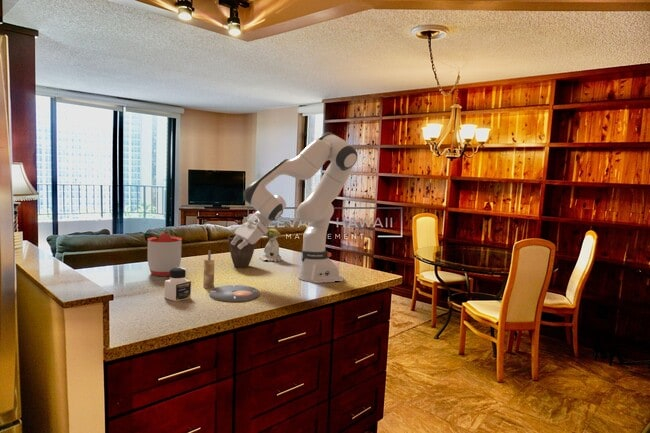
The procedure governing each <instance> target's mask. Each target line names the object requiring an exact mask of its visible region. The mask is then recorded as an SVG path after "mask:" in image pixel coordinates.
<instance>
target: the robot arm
mask: <svg viewBox="0 0 650 433" xmlns="http://www.w3.org/2000/svg"><path fill="white" fill-rule="evenodd" d="M327 161H329V162H330V163H329V164H328V165H327V168H325V169H326V170H325V171H324V173H323V174H322V176H321V178H320V179H319V182H318V183H317V185H316V186H315V187H314V189H312V191H311V192H310V194H309V195H308V196H307V198H305V200H303V202H301V203H300V204H299V205H298V206H297V209H296V214H297V217H298V219H299V220H300V221H301V222H303V223H307V226H306V229H305V230H304V232H303V235H302V236H303V239H302V249H301V257H300V258H301V259H300V260H301V265H300V269H299V273H298V276H297V278H298V279H299V280H302V281H305V282H310V283H315V284H320V283H321V284H322V283H323V282H324V283H336V282H335V281H340V282H343V281H344V276H343V275H342V274H340V269H339V266H338V265H337V264H336V263H335V262H333V260H332V259H330V257H332V253H331V252H329V251H328V250H326V244H327V243H326V242H327V233H328V232H327V231H328V229H329V225H330V220H331V218H332V217H333V215H334V212H335V208H334V205H333V204H332V202H333V201H334V200H335V199H337V198H338V196H339V195H340V193H341V191H342V189H343V188H344V186H345V185H346V182H348V179H349V178H350V177H349V176H350V174H351V171H352V170H353V166H355V165H356V163H357V161H358V151H357V150H356V149H355V147H353V146H352V145H351V144H349V143H348V142H347V141H346V140H344V139H343V138H341V137H339V136H338V135H336V134H335V133H333V132H329V131H326V132H324V133H322V134H321V135H319V136H318V138H317V139H315V140H313V141H311V142H310V143H309V144H307V146H306V147H305V148H303V150H301V151H300V153H299V154H298V155H296V156H295V157H293V158H290V159H287V158H285V159H283V160H281V161H279V162H278V163H277V164H276V165H274V166H273V167H272V168H270V170H268V171H267V172H266V173H265V174H263V175H262V176H260V178H258V179H256V180H255V181H254V182H252V183H251V184H249V185H248V186H247V187H246V188H245V189H244V190H243V199H244V201H245V202H246V203H247V204H248V205H250V206H251V207H253V208H254V209H255V210H256V211H255V212H254V213H253V214H252V215H251V216H250V217H249V218H248V219H247V222H243V223H242V224H241V225H240V226H239V227H238V228H237V229H235V231H234V235H236V236H235V237H234V239H233V241H232V242H231V244H232V245H235V244H236V242H237V241H238V240H240V239H242V240H244V241H243V242H242V243H241V244H239V245H238V246H237V247H238V248H239V249H242V248H243V247H244V246H246V245H247V244H248V243H250V244H254V243H257V242H258V241H259V240H260V239H261V238H263V236H265V235H264V234H266V233H267V232H268V229H269V227H270V225H271V224H272V223H273V221H277V220H278V219H279V218H280V217H281V216H282V215H283V214H284V210H285V208H286V207H287V203H286V200H285V199H284V198H283V197H282V196H280V195H279V194H273V193H271V192H270V191H269V190H268V189H267V188H266V187H267V186H268V185H269V184H271V182H273V181H274V180H276V179H277V178H278V177H280V176H281V175H286V176H288V177H292V178H295V179H297V180H301V181H307V180H310V179H311V178H313V177H314V176H315V175H316V174H317V173H318V172H319V171H320V170H321V169H322V167H323V165H325V163H326V162H327Z"/></svg>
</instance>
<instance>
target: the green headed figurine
mask: <svg viewBox="0 0 650 433" xmlns="http://www.w3.org/2000/svg"><path fill="white" fill-rule="evenodd" d="M267 229H268V232H267V233H266V234H264V235H263V236H265V237H267V239H268V242H267V243H266V245H265V247H264V249H263V253H265V254H264V255H260V256H259V259H262V262H263V261H266V260H267V261H268V262H270V261H271V262H273V261H274V262H275V263H277V262H280V261H281V260H282V256H281V255H280V244H279V242H278V240H277V238H279V237H280V236H281V235H282V234H281V233H280V232H279V231H278V230H277V229H276V228H271V227H270V228H267Z"/></svg>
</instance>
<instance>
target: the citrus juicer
mask: <svg viewBox="0 0 650 433" xmlns="http://www.w3.org/2000/svg"><path fill="white" fill-rule="evenodd" d="M146 240H147V265H148V269H149V271H150V273H151V275H153V276H156V277H162V276H163V277H164V276H165V277H167V276H170V270H171V269H172V268H176V267H180V265H181V262H182V243H183V242H182V241H183V238H182V237H178V236H170V235H169V234H168V233H167V232H163V233H162V234H160V236H159V237H158V238H157V237H156V236H152V237H151V236H150V237H148V238H147V239H146Z"/></svg>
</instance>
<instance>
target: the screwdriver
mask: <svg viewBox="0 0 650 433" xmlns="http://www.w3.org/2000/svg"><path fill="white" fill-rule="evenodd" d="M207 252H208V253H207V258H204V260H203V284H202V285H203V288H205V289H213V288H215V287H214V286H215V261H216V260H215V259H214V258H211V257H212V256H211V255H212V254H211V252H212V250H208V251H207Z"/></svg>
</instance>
